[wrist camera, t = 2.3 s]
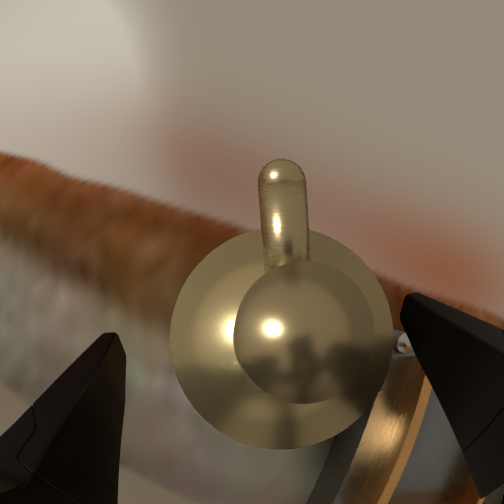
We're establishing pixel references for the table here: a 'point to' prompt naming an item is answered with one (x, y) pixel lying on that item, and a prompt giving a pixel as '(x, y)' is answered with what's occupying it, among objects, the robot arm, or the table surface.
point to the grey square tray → (398, 446)
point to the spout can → (281, 327)
